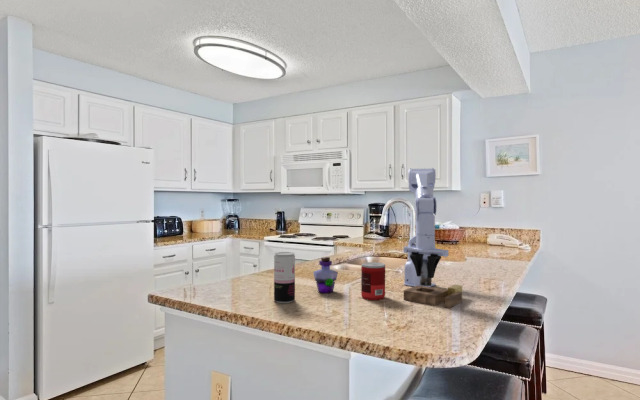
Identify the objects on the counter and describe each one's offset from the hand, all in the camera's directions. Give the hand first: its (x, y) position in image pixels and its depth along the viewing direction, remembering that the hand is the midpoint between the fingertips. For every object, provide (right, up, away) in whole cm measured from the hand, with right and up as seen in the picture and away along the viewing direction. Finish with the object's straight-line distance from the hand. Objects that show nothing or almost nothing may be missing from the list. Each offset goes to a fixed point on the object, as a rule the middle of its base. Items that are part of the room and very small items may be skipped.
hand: (425, 276), depth 127 cm
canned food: (-16, -7, +2) cm, 18 cm away
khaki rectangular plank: (+10, -7, +1) cm, 12 cm away
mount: (+2, -7, -1) cm, 8 cm away
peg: (0, -3, 0) cm, 3 cm away
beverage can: (-45, -7, -2) cm, 46 cm away
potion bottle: (-32, -7, +10) cm, 34 cm away
